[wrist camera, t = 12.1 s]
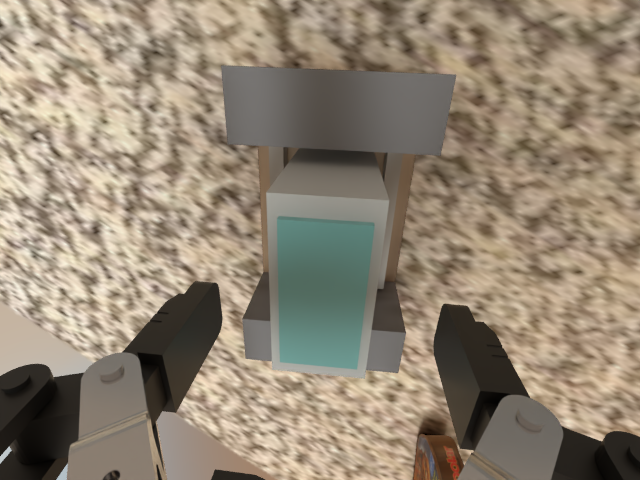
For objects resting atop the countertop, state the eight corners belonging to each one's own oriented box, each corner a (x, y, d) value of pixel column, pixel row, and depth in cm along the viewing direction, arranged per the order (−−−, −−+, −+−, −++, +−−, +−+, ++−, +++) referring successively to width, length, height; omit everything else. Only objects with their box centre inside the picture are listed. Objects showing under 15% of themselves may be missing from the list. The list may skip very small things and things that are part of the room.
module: (372, 147, 19) (390, 203, 10) (359, 269, 22) (365, 384, 14) (302, 144, 19) (264, 195, 11) (300, 264, 22) (270, 375, 14)
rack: (422, 76, 18) (456, 75, 12) (387, 304, 25) (398, 372, 19) (261, 69, 19) (221, 65, 13) (269, 295, 26) (245, 358, 20)
